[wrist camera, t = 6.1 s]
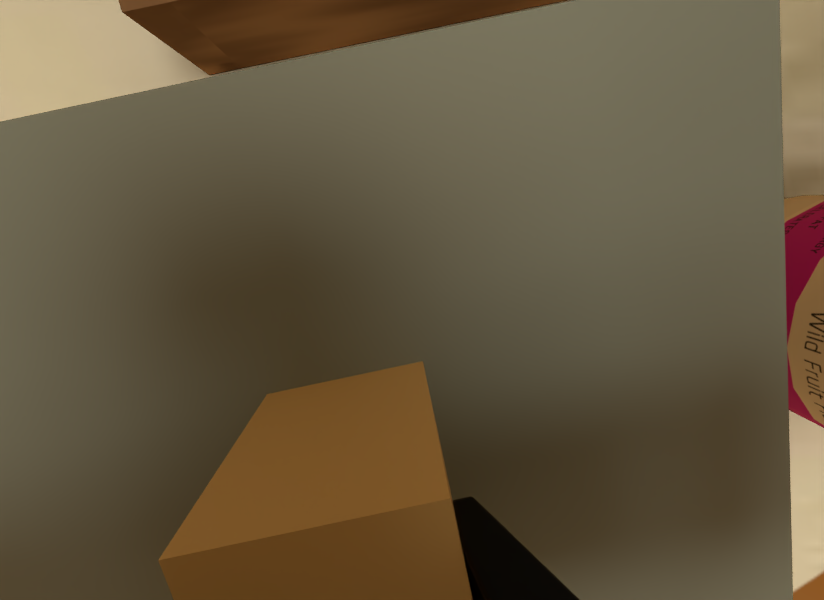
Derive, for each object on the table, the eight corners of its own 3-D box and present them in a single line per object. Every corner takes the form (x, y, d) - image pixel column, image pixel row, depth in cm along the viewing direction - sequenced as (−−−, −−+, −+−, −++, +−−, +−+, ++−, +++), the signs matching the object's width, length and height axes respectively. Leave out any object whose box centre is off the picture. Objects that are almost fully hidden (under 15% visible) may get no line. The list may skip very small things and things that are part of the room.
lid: (724, -9, 8) (1240, -338, 3) (756, 685, 12) (1024, 1037, 7) (-160, 178, 8) (-1011, 138, 3) (142, 815, 12) (-41, 1264, 7)
